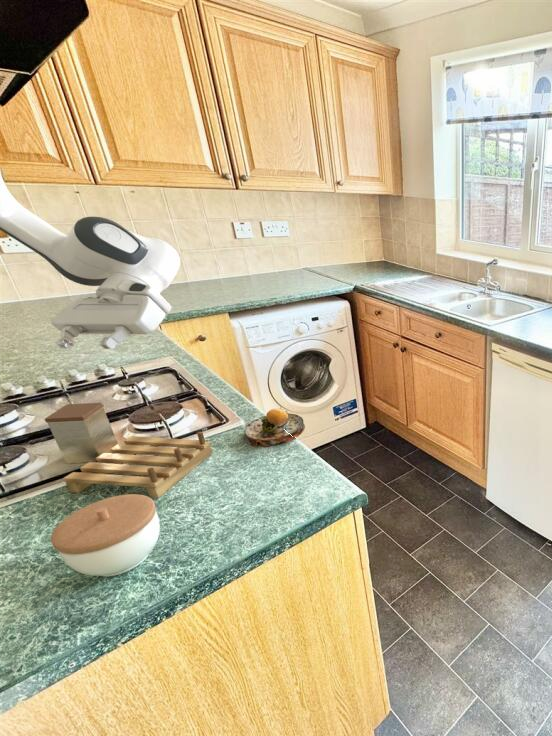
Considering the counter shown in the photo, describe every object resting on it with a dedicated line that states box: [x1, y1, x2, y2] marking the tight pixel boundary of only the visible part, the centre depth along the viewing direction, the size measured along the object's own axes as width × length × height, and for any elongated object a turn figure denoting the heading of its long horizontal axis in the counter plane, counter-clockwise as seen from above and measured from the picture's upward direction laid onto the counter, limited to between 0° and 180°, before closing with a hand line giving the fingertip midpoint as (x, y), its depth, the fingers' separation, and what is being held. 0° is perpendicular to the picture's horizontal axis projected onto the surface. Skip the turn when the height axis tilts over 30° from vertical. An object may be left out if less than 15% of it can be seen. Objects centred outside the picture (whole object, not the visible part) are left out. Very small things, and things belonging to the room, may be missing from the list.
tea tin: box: [44, 402, 119, 465], centre depth 81 cm, size 6×6×10 cm
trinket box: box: [50, 493, 161, 578], centre depth 59 cm, size 11×11×9 cm
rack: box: [63, 431, 213, 499], centre depth 78 cm, size 16×14×6 cm
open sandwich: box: [243, 406, 306, 447], centre depth 93 cm, size 12×12×8 cm
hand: (83, 346), depth 82 cm, fingers open, 8 cm apart
